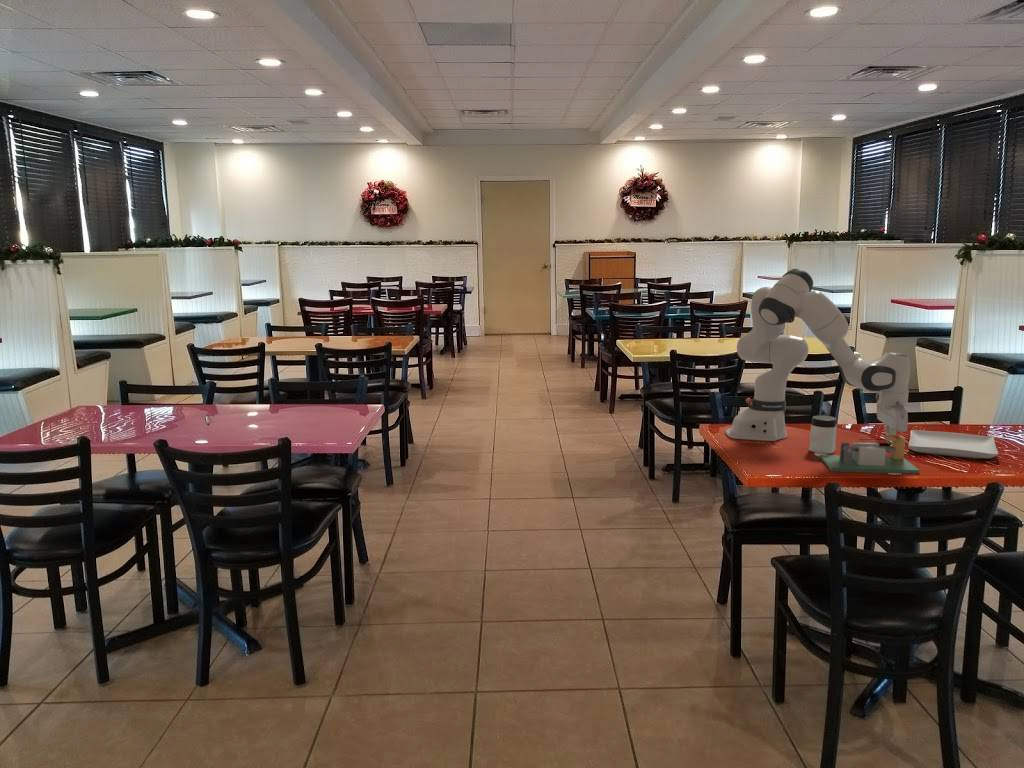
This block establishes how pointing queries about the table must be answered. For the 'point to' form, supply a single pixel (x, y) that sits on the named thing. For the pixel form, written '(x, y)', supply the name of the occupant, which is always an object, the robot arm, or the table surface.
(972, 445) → the square plate
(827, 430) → the jar
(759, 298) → the robot arm
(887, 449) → the dark grey flat bar
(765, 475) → the table surface
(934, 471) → the table surface
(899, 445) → the tan wooden block
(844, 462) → the board
